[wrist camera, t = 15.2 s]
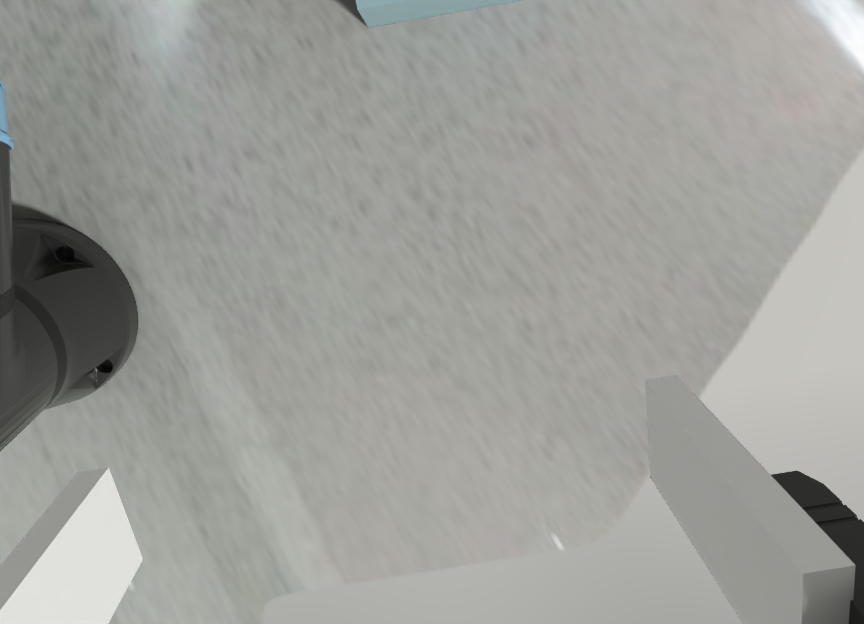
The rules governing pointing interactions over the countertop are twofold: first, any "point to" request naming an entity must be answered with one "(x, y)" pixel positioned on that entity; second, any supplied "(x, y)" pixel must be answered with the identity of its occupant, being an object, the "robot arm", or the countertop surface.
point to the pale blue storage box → (415, 9)
